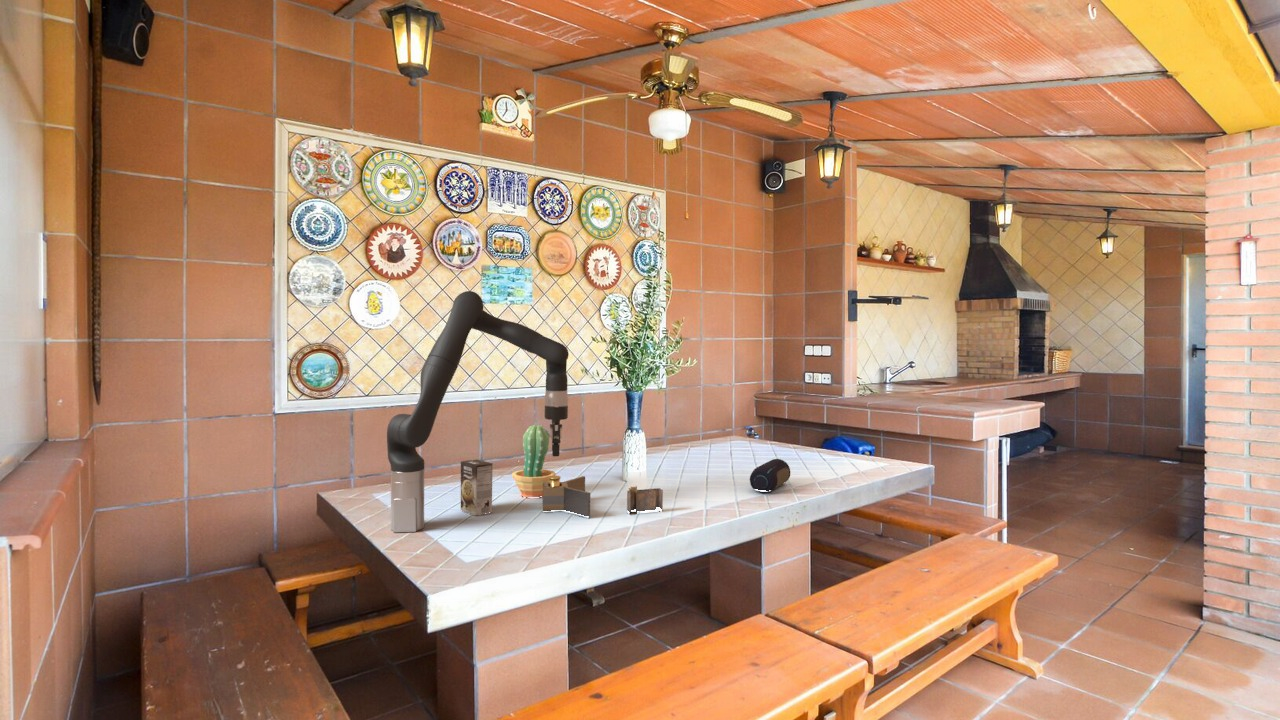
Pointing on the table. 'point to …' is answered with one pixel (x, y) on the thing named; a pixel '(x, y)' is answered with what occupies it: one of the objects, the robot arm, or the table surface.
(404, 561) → the table surface
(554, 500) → the hinge
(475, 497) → the coffee box
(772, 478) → the portable speaker
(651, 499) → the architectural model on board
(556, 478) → the hinge pin
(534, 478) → the potted cactus
